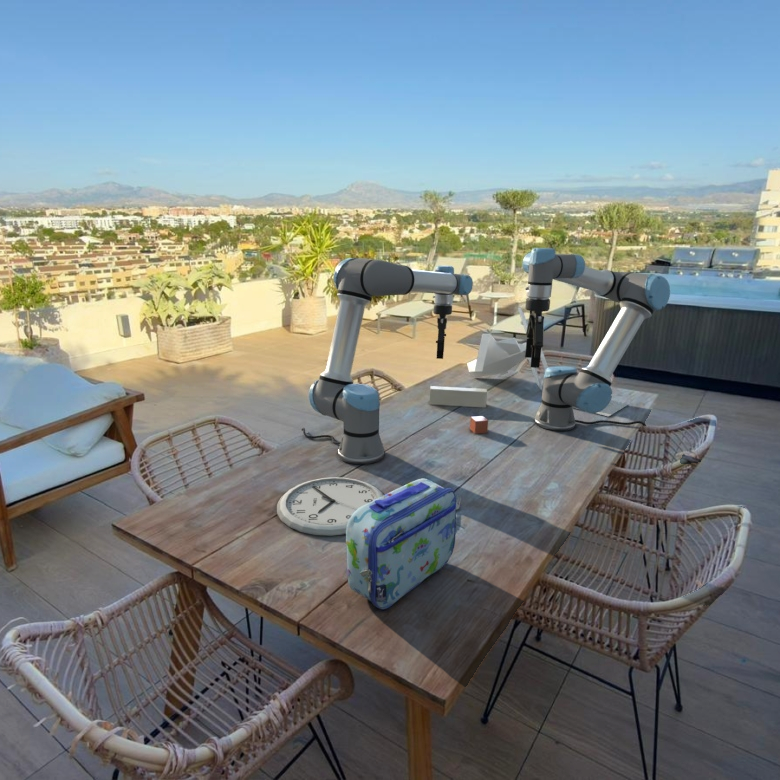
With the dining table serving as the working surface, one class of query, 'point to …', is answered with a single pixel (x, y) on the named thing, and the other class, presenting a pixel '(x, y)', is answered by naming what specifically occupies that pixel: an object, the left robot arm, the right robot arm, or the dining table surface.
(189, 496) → the dining table surface
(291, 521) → the wall clock
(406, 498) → the lunch box
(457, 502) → the fork
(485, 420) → the terracotta block
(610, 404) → the invitation card
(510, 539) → the dining table surface
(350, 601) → the dining table surface
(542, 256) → the right robot arm
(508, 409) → the dining table surface
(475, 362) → the white plastic object
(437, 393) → the plank
